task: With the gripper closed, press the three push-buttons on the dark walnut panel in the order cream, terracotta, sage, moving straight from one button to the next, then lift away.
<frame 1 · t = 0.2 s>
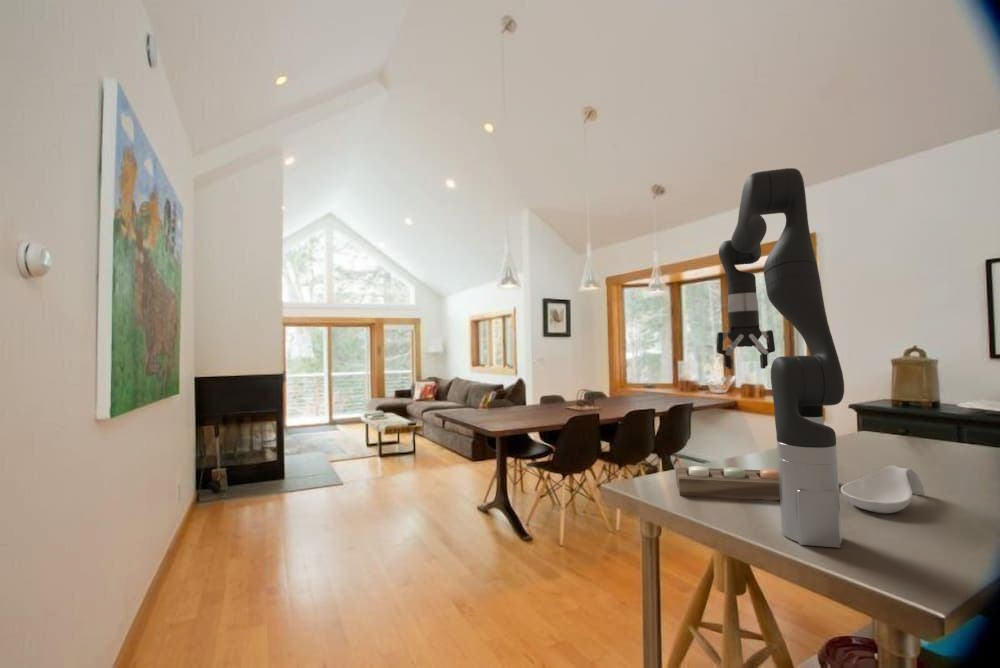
hand: (746, 368, 129), 29 cm above the table, tool pointing down, fingers open, 8 cm apart
spoon rest: (888, 504, 101), on the table
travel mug: (812, 482, 118), on the table
terracotta button: (771, 477, 110), point 4 cm above the table, slide at 0.0 cm
sage button: (734, 475, 113), point 4 cm above the table, slide at 0.0 cm
cream button: (698, 474, 115), point 4 cm above the table, slide at 0.0 cm
button panel: (735, 491, 113), on the table
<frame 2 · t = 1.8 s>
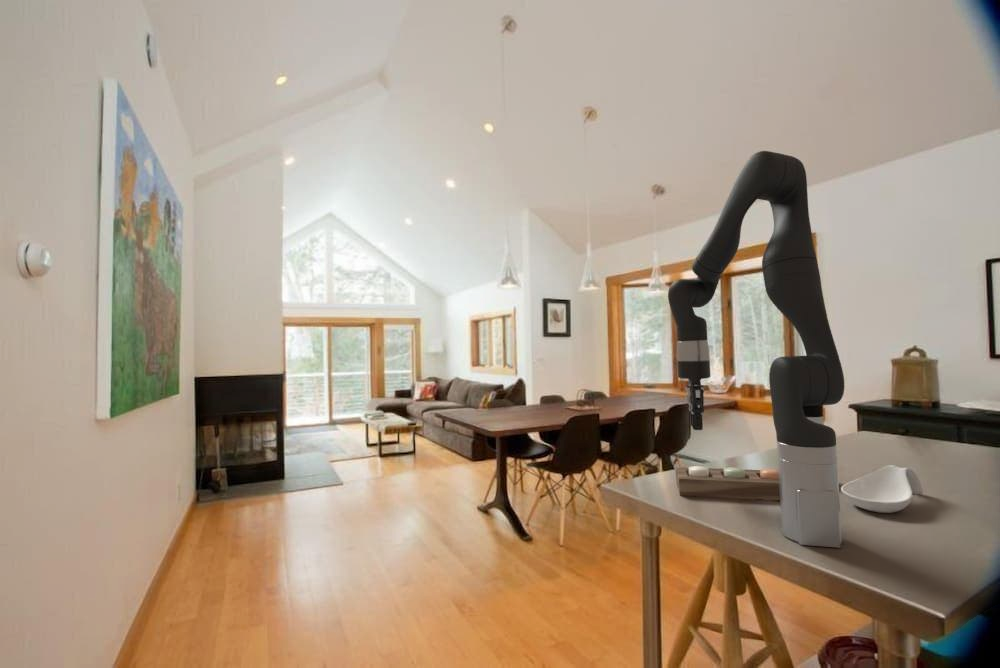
hand: (696, 427, 115), 15 cm above the table, tool pointing down, fingers open, 4 cm apart
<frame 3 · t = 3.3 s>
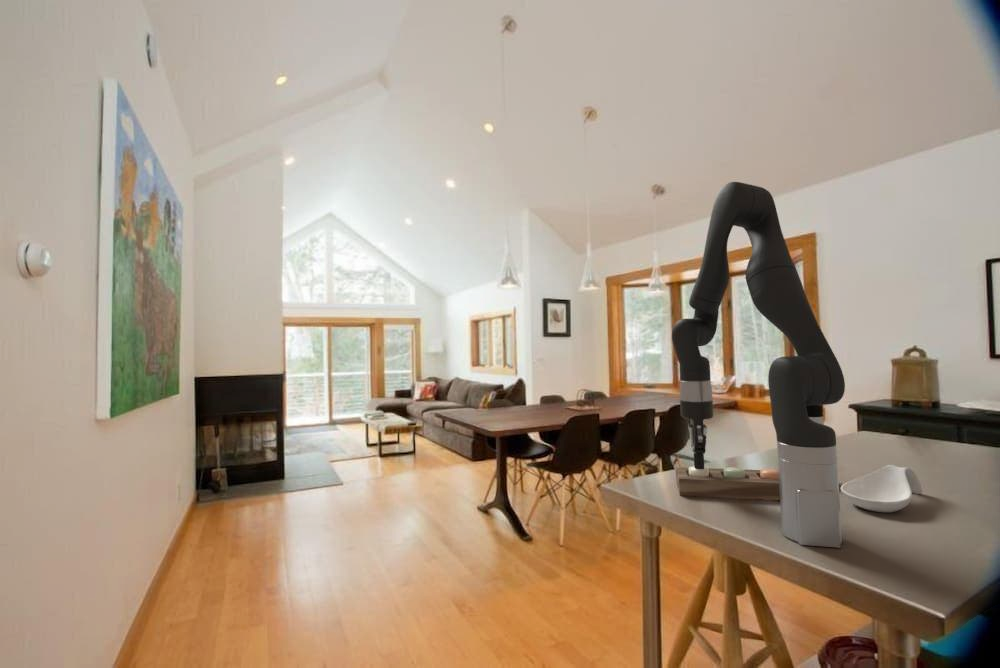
hand: (699, 468, 115), 5 cm above the table, tool pointing down, fingers closed
cream button: (698, 474, 115), point 4 cm above the table, slide at 0.0 cm, touching gripper
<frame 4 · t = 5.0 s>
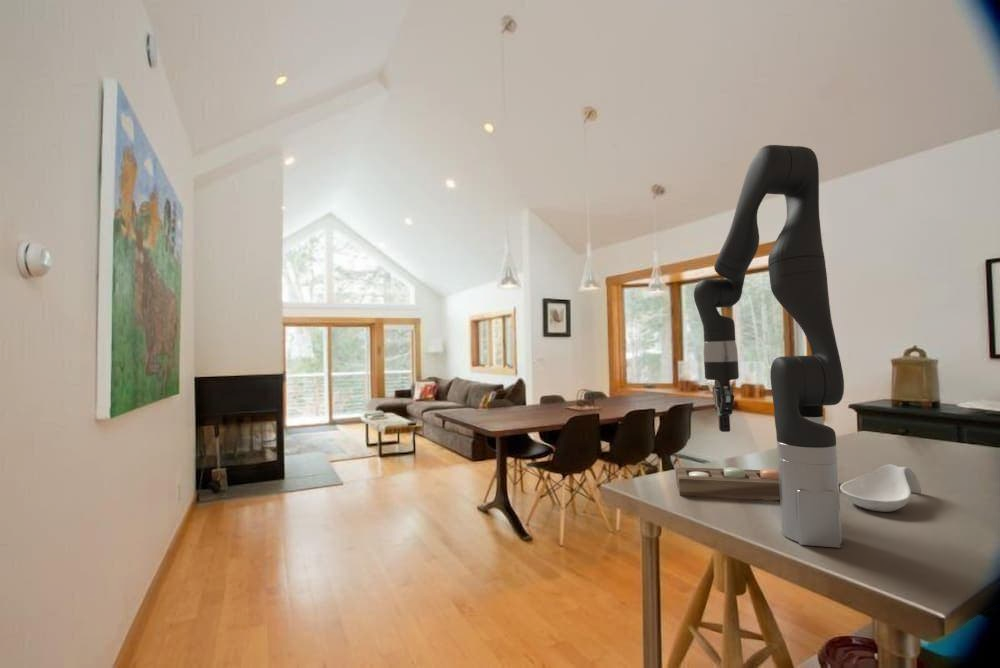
hand: (724, 431, 113), 15 cm above the table, tool pointing down, fingers closed
cream button: (699, 479, 115), point 2 cm above the table, slide at 1.3 cm
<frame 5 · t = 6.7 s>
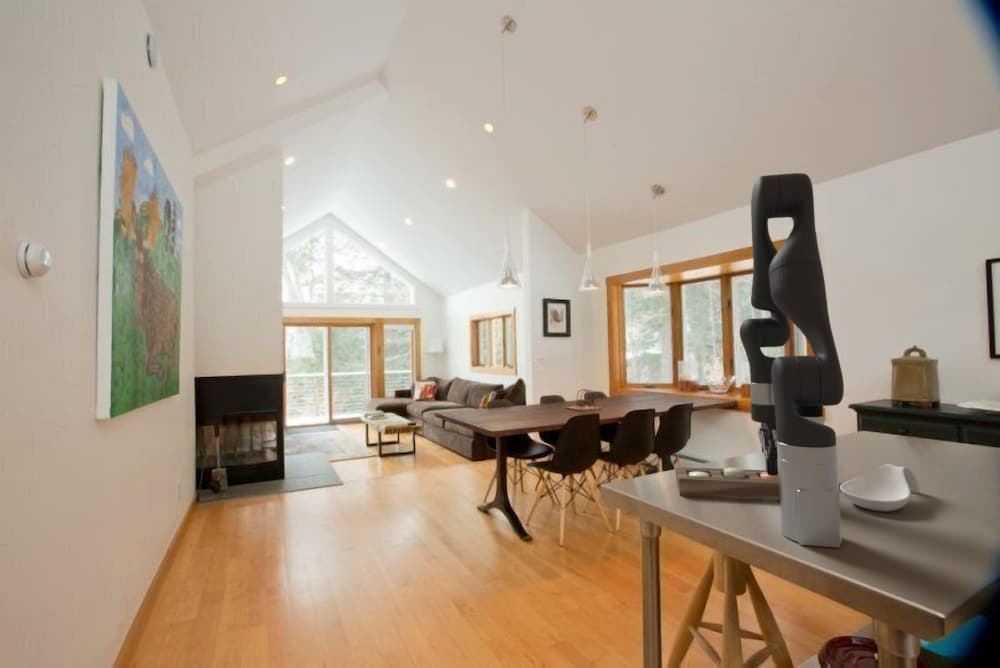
hand: (772, 474, 111), 4 cm above the table, tool pointing down, fingers closed
terracotta button: (771, 480, 110), point 3 cm above the table, slide at 0.8 cm, touching gripper
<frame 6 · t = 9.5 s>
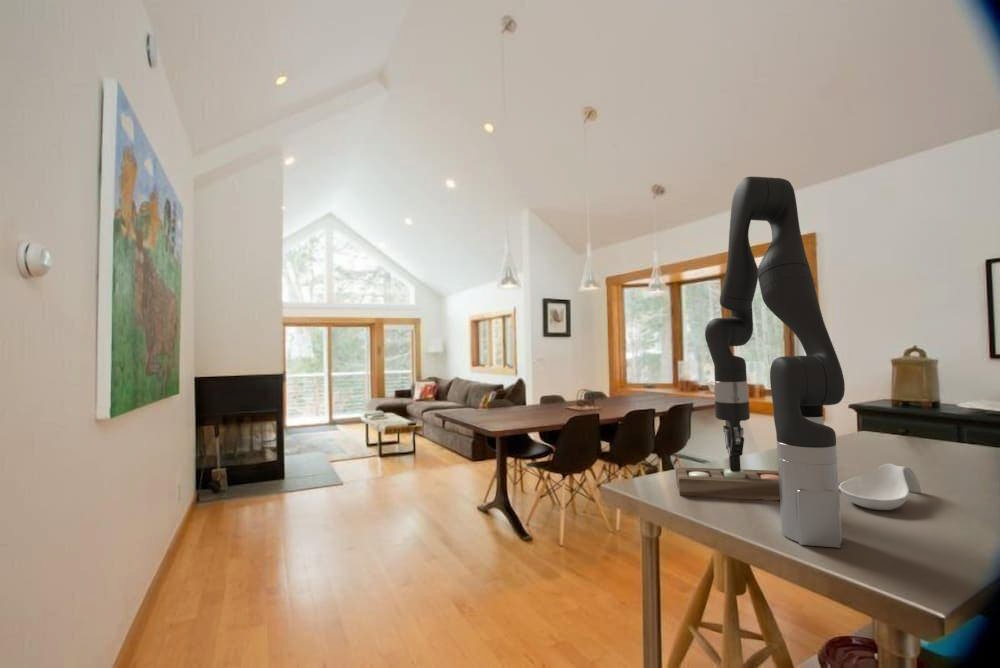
hand: (735, 470, 113), 5 cm above the table, tool pointing down, fingers closed
terracotta button: (771, 482, 110), point 2 cm above the table, slide at 1.3 cm
sage button: (734, 476, 113), point 4 cm above the table, slide at 0.3 cm, touching gripper
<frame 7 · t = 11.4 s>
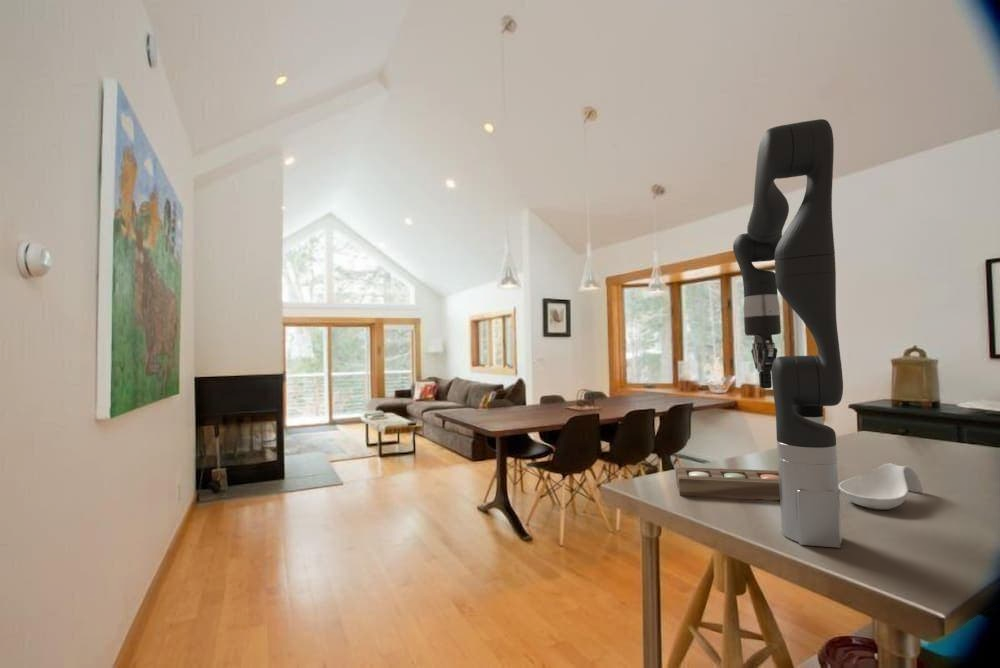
hand: (765, 387, 110), 25 cm above the table, tool pointing down, fingers closed
sage button: (734, 481, 113), point 2 cm above the table, slide at 1.3 cm
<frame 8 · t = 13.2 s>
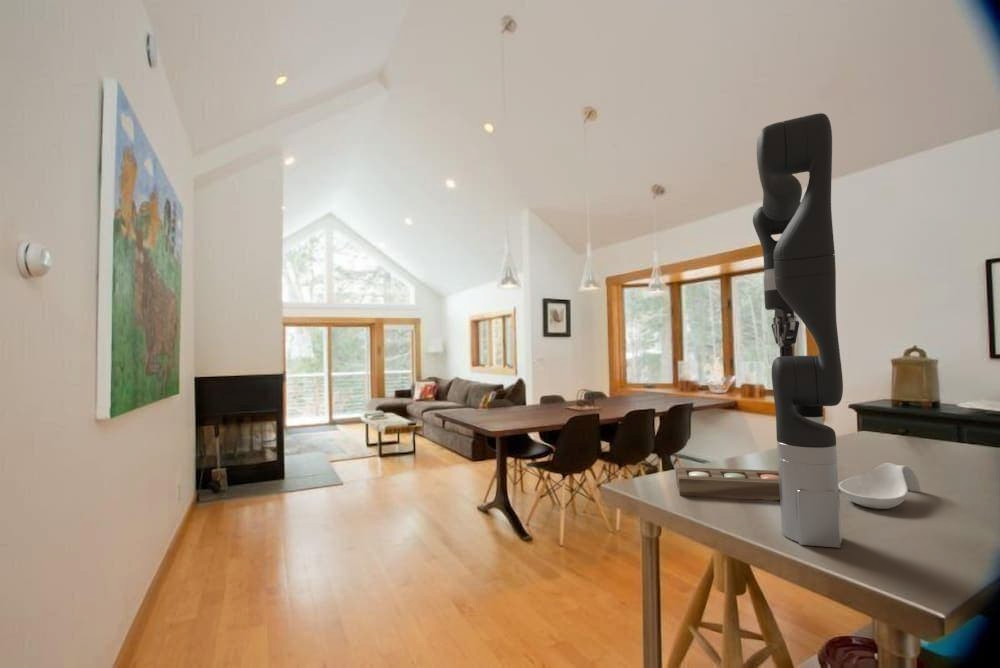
hand: (786, 362, 108), 31 cm above the table, tool pointing down, fingers closed
at the end: cream button slide at 1.3 cm; terracotta button slide at 1.3 cm; sage button slide at 1.3 cm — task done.
